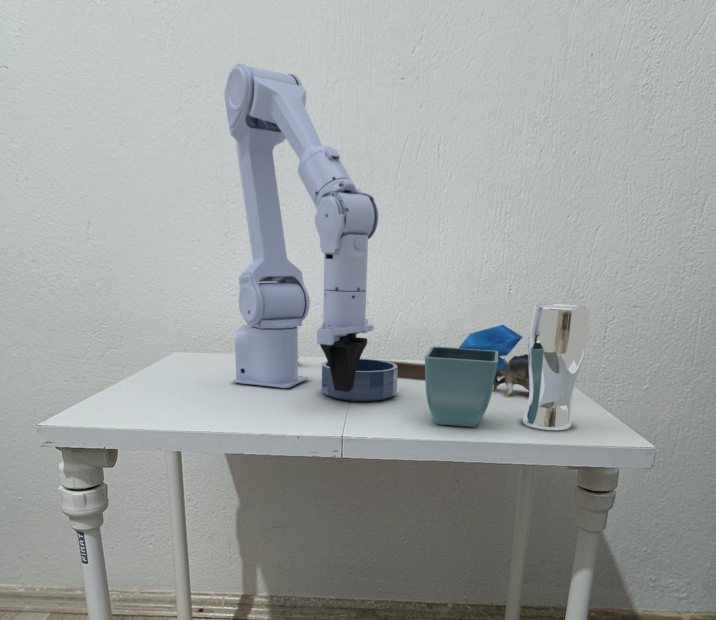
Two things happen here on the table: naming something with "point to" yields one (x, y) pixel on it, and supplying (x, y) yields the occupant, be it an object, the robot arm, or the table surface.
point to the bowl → (365, 381)
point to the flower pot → (459, 384)
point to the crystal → (493, 342)
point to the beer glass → (554, 363)
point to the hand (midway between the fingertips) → (342, 390)
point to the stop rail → (409, 369)
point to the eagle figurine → (514, 373)
